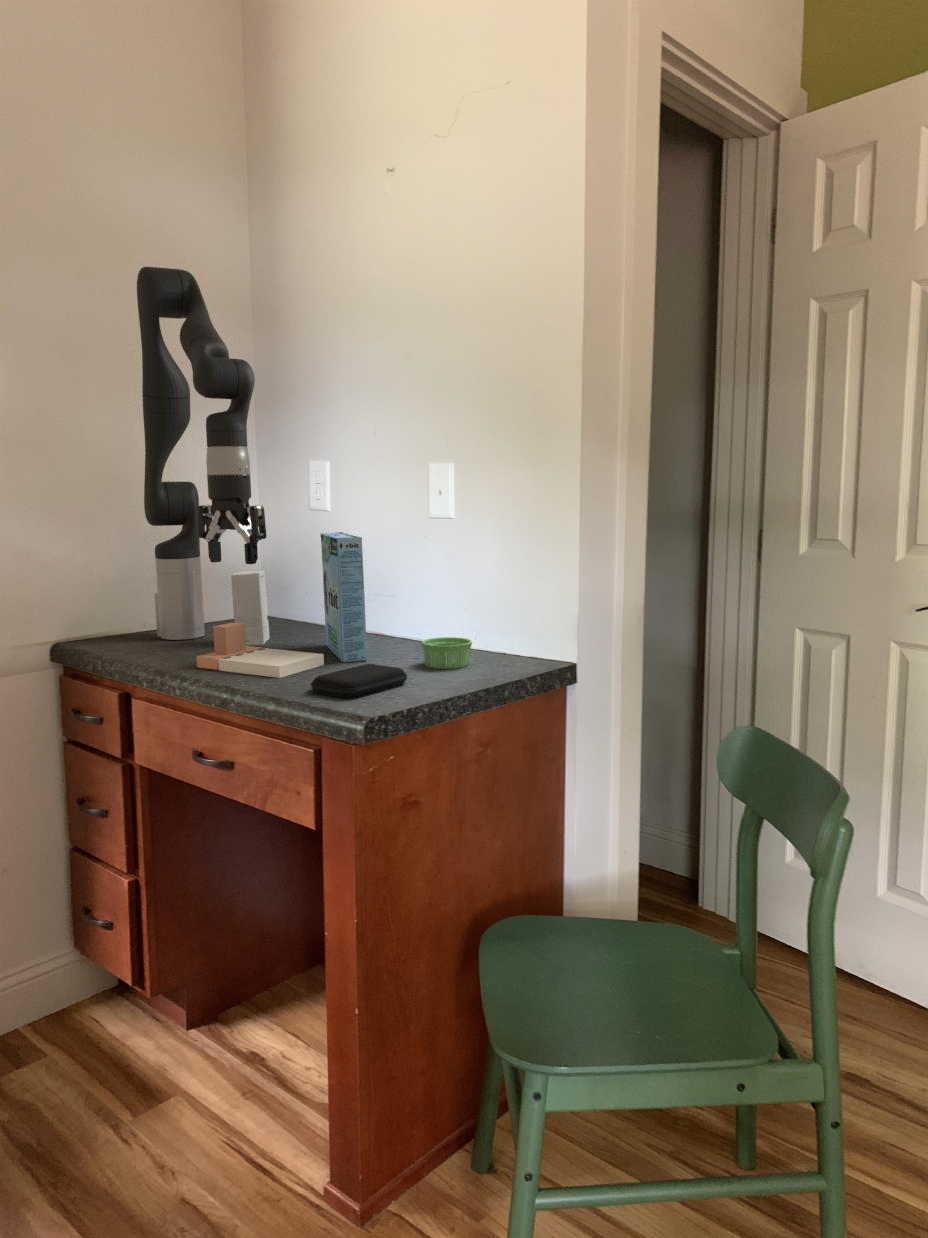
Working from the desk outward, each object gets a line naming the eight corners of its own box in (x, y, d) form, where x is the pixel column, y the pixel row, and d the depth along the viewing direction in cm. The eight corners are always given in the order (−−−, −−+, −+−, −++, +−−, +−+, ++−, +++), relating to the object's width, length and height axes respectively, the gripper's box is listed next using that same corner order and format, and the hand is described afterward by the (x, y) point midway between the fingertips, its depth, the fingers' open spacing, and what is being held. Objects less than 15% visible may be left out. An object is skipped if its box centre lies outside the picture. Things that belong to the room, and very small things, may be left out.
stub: (197, 667, 163) (194, 628, 162) (243, 655, 173) (241, 619, 172) (217, 669, 160) (215, 630, 159) (263, 657, 171) (261, 621, 170)
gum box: (367, 661, 167) (363, 536, 163) (340, 663, 165) (335, 537, 162) (348, 643, 185) (345, 531, 182) (324, 645, 184) (319, 532, 180)
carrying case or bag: (365, 677, 155) (300, 694, 143) (364, 660, 154) (300, 675, 143) (412, 685, 148) (349, 703, 137) (412, 667, 148) (348, 683, 136)
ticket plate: (218, 670, 160) (218, 658, 160) (264, 658, 171) (264, 647, 170) (279, 677, 154) (279, 665, 153) (323, 664, 164) (323, 653, 164)
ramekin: (480, 662, 165) (480, 639, 164) (456, 672, 157) (456, 647, 156) (438, 658, 169) (438, 635, 168) (412, 667, 161) (412, 643, 160)
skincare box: (264, 646, 184) (260, 573, 182) (234, 646, 183) (230, 573, 181) (269, 639, 192) (266, 569, 190) (241, 639, 192) (237, 569, 189)
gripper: (184, 473, 162) (189, 563, 165) (244, 472, 156) (248, 566, 158) (214, 473, 169) (219, 560, 171) (273, 472, 162) (277, 562, 165)
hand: (233, 563), depth 165 cm, fingers open, 8 cm apart
